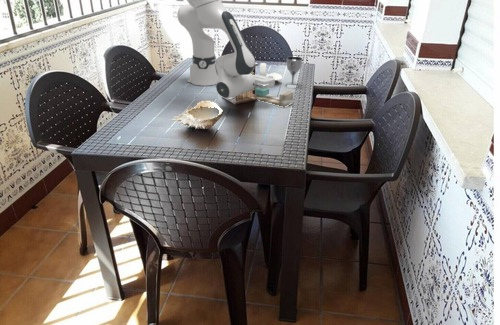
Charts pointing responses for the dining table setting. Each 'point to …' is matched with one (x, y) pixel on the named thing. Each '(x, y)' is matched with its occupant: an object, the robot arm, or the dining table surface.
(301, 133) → the dining table surface
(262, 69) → the white tall piece
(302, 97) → the dining table surface
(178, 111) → the dining table surface
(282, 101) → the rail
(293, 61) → the wine glass
